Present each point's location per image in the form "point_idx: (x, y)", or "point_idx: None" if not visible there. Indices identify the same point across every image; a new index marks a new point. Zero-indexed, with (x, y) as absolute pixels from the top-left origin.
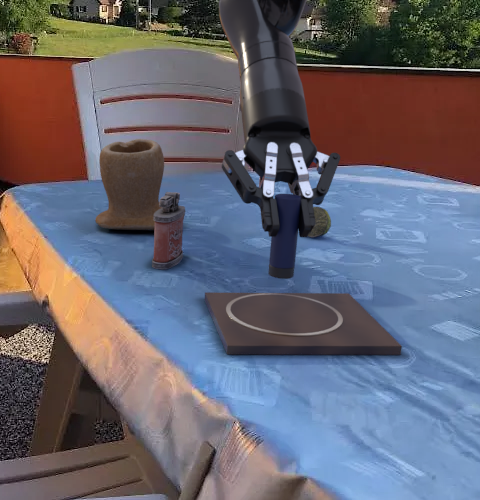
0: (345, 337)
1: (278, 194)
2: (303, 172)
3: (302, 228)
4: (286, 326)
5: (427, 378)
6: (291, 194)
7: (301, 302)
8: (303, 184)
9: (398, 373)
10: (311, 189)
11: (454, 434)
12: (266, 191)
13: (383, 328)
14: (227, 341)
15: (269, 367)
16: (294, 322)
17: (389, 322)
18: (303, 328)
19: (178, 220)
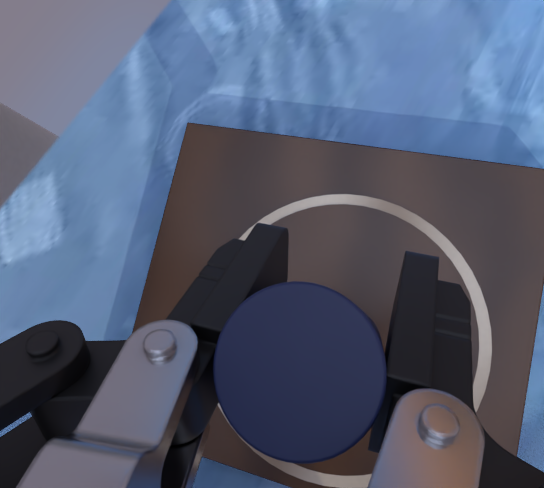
0: (269, 174)
1: (336, 442)
2: (68, 480)
3: (282, 260)
4: (370, 246)
5: (210, 44)
6: (243, 422)
7: None
8: (140, 410)
9: (244, 65)
10: (116, 364)
11: None
12: (457, 431)
13: (167, 205)
14: None
15: (476, 110)
16: (340, 264)
17: (114, 278)
18: (337, 227)
19: None
